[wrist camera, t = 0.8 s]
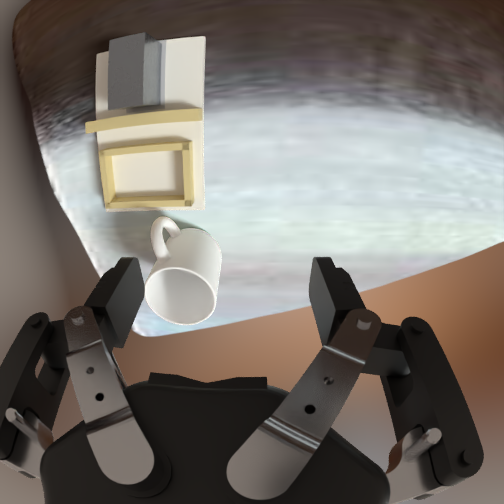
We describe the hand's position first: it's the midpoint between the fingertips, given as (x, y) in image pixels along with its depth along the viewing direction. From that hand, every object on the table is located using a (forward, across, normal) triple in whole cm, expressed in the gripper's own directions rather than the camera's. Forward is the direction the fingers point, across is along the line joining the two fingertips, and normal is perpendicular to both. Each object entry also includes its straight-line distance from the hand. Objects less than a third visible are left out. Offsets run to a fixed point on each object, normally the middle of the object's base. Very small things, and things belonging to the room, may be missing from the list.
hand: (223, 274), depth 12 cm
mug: (+24, +7, +11) cm, 27 cm away
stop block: (+23, +11, -12) cm, 28 cm away
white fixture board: (+24, +11, -5) cm, 27 cm away
